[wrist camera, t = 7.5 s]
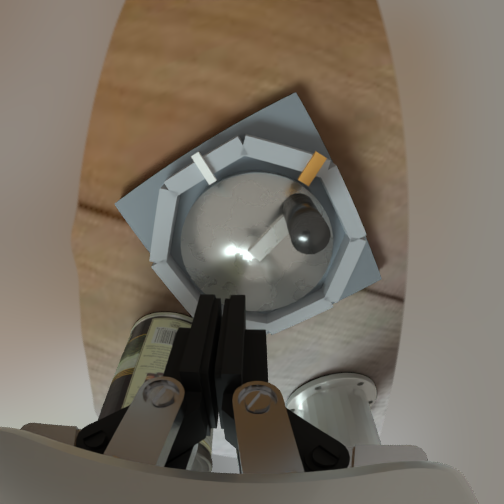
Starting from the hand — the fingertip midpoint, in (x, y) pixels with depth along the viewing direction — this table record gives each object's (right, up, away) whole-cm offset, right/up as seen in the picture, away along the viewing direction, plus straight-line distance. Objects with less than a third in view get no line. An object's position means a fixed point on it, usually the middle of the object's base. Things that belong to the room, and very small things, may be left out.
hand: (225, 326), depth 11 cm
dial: (+1, +4, +13) cm, 14 cm away
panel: (+1, +4, +15) cm, 15 cm away
